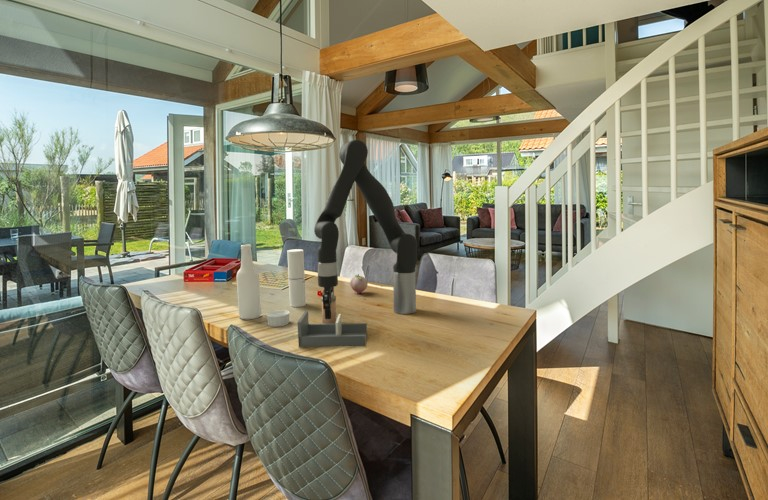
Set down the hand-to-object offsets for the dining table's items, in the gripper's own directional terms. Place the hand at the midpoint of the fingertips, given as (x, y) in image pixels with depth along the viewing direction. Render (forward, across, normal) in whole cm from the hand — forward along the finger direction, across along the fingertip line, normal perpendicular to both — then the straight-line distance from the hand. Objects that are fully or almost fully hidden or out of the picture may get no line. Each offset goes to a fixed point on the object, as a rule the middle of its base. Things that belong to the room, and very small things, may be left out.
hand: (329, 316), depth 154 cm
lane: (+3, -17, -4) cm, 18 cm away
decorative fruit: (+3, +46, -9) cm, 47 cm away
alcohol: (+3, +10, +34) cm, 36 cm away
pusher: (+2, -17, -6) cm, 18 cm away
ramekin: (+3, +1, +20) cm, 20 cm away
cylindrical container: (+3, +27, +18) cm, 33 cm away
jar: (+3, 0, 0) cm, 3 cm away
